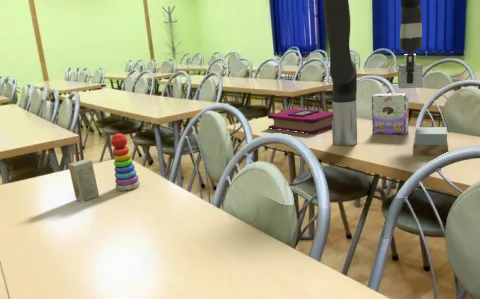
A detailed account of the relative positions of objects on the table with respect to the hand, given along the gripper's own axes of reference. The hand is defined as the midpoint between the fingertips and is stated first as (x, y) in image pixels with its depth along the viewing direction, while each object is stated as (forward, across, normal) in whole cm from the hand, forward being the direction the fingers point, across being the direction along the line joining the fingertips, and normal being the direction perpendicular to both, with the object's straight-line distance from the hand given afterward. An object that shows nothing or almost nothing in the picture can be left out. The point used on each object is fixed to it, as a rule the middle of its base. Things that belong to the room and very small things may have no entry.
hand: (410, 82), depth 169 cm
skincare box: (+24, +75, -95) cm, 123 cm away
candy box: (+23, -13, -8) cm, 28 cm away
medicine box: (+2, 0, 0) cm, 2 cm away
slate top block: (+19, +15, +8) cm, 25 cm away
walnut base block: (+23, +15, +7) cm, 28 cm away
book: (+24, -25, -48) cm, 59 cm away
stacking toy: (+24, +64, -87) cm, 110 cm away
